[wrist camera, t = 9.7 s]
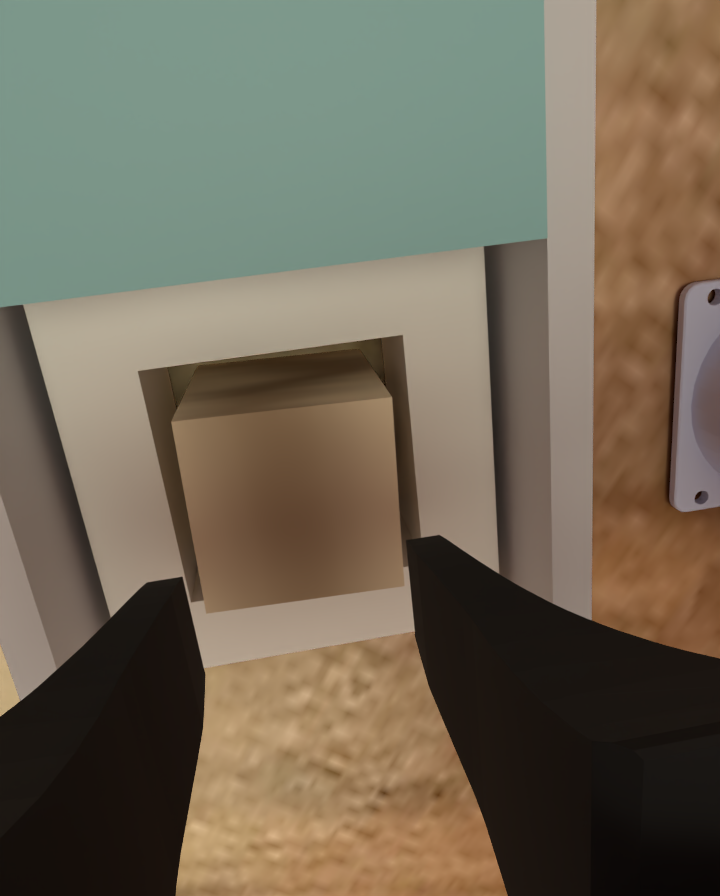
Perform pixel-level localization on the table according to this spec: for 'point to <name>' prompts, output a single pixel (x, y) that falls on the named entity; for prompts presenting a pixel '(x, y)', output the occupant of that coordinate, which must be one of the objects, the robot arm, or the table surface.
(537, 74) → the lid
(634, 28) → the table surface
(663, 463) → the table surface
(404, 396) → the housing
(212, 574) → the peg
